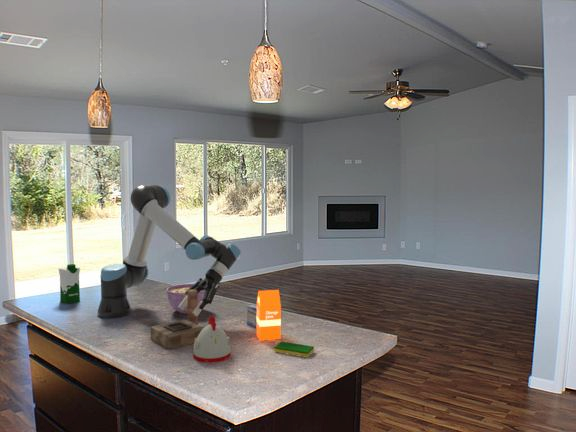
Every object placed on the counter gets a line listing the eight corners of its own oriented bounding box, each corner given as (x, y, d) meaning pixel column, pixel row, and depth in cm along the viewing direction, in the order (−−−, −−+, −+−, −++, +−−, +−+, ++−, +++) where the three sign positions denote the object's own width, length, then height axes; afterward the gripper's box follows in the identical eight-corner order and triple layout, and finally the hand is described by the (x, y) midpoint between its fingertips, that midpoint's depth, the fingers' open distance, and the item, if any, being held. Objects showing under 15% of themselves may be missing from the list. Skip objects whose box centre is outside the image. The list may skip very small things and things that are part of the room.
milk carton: (66, 304, 245) (65, 266, 243) (57, 301, 250) (56, 264, 249) (82, 301, 252) (81, 264, 251) (73, 298, 257) (72, 262, 256)
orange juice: (256, 335, 200) (256, 288, 199) (276, 333, 203) (276, 287, 201) (259, 341, 193) (260, 293, 191) (280, 339, 195) (281, 291, 193)
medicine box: (246, 324, 215) (246, 305, 214) (253, 322, 218) (253, 304, 217) (258, 328, 209) (258, 309, 209) (265, 326, 213) (265, 307, 212)
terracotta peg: (185, 325, 212) (185, 290, 211) (194, 323, 215) (194, 289, 214) (190, 327, 209) (190, 292, 208) (199, 325, 212) (199, 290, 211)
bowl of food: (204, 304, 248) (204, 282, 247) (210, 315, 229) (210, 291, 228) (165, 307, 241) (164, 285, 241) (168, 318, 223) (167, 294, 222)
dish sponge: (281, 347, 188) (281, 341, 187) (314, 352, 182) (314, 346, 182) (273, 353, 181) (273, 346, 181) (307, 358, 176) (307, 352, 176)
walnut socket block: (150, 338, 195) (150, 325, 194) (185, 330, 205) (185, 318, 205) (169, 349, 183) (169, 335, 182) (205, 340, 193) (205, 326, 193)
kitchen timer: (197, 365, 168) (197, 323, 167) (189, 352, 180) (189, 313, 179) (235, 359, 173) (235, 319, 172) (225, 347, 186) (225, 309, 185)
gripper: (236, 282, 212) (207, 322, 203) (207, 273, 230) (179, 310, 221) (226, 272, 208) (196, 312, 199) (197, 264, 226) (168, 301, 217)
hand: (187, 311), depth 210 cm, fingers open, 12 cm apart
